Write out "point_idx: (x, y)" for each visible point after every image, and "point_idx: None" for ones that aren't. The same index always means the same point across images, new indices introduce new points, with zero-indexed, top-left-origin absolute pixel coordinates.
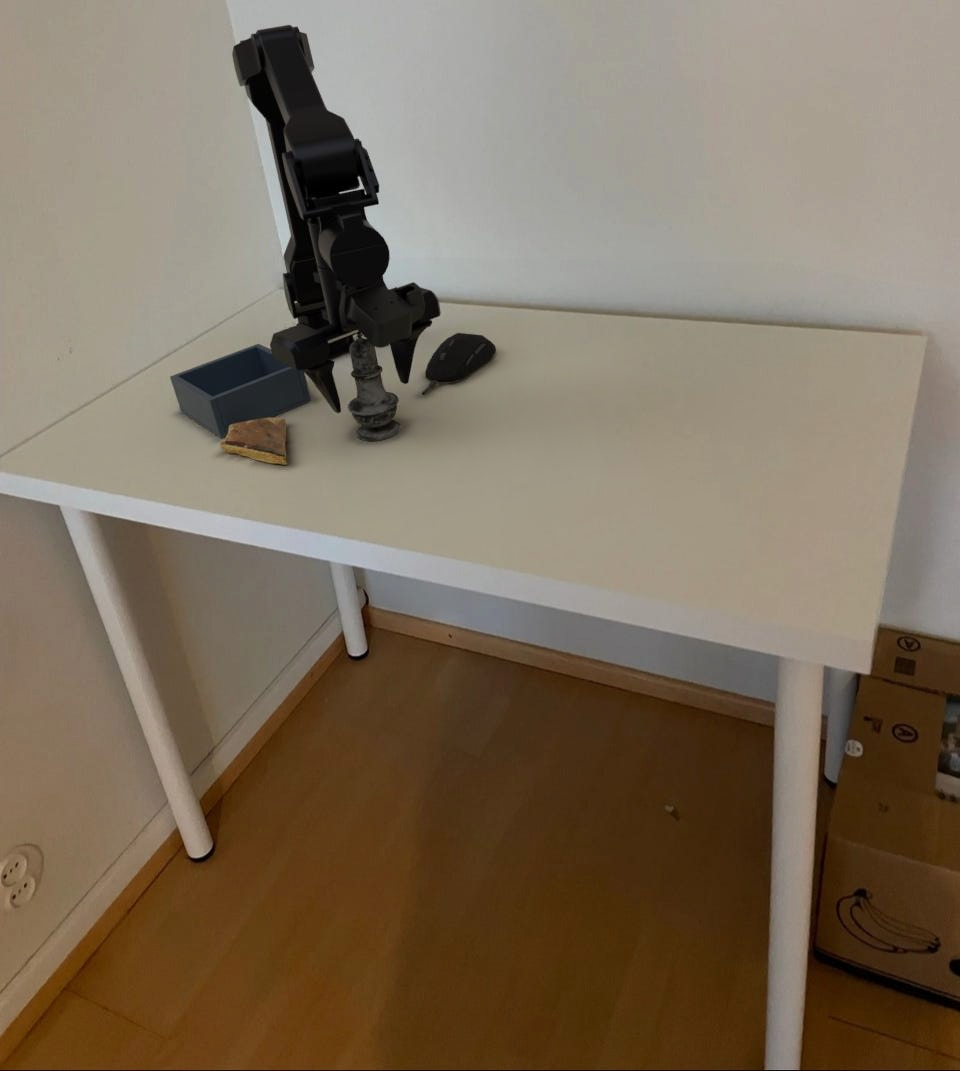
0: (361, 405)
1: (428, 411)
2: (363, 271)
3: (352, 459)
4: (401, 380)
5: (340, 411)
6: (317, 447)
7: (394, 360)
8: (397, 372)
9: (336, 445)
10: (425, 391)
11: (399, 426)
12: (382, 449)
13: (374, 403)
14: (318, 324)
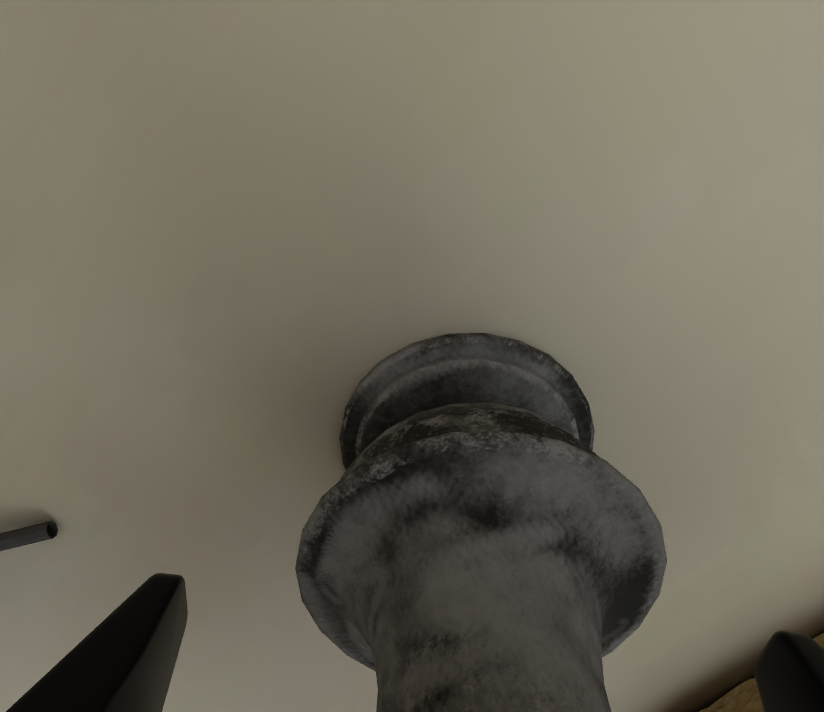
0: (612, 595)
1: (139, 382)
2: None
3: (802, 329)
4: (181, 623)
5: (789, 633)
6: (737, 553)
7: None
8: (163, 703)
9: (687, 501)
10: (31, 532)
11: (380, 378)
12: (632, 269)
13: (560, 544)
14: None
